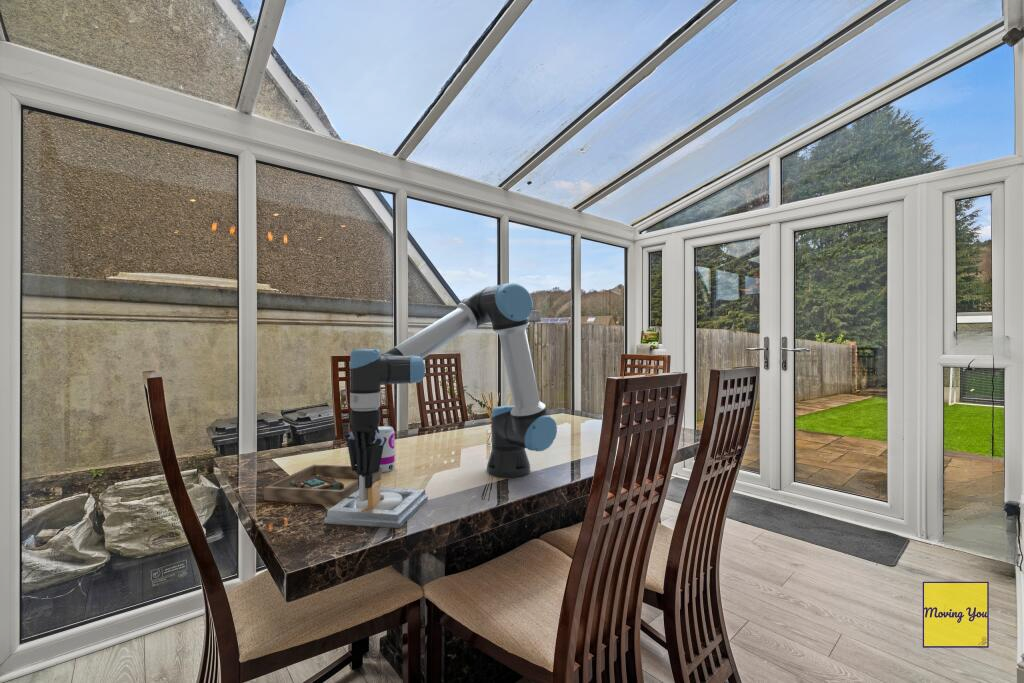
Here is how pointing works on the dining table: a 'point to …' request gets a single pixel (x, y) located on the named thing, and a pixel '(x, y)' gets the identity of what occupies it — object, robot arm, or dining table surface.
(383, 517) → the dial panel
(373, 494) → the dial
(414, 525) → the dining table surface
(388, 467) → the supplement can
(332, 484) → the decorative book
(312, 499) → the book tray
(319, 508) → the dining table surface
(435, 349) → the robot arm
